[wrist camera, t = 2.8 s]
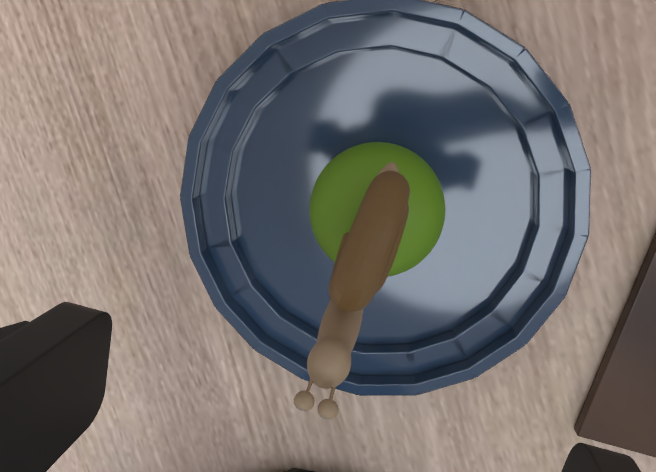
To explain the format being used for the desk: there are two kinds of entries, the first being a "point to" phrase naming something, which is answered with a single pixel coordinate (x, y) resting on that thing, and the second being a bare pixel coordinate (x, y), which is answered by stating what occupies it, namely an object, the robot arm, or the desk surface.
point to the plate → (421, 138)
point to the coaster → (628, 374)
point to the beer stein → (297, 470)
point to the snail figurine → (366, 244)
